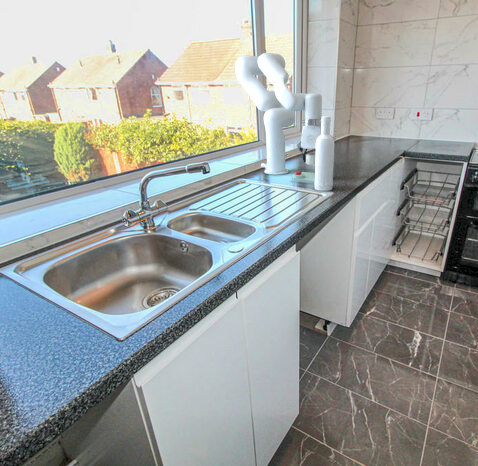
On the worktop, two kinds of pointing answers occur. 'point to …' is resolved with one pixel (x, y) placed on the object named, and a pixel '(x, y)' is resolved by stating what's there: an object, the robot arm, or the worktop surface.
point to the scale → (304, 177)
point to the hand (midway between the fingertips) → (312, 162)
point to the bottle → (324, 157)
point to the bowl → (310, 158)
